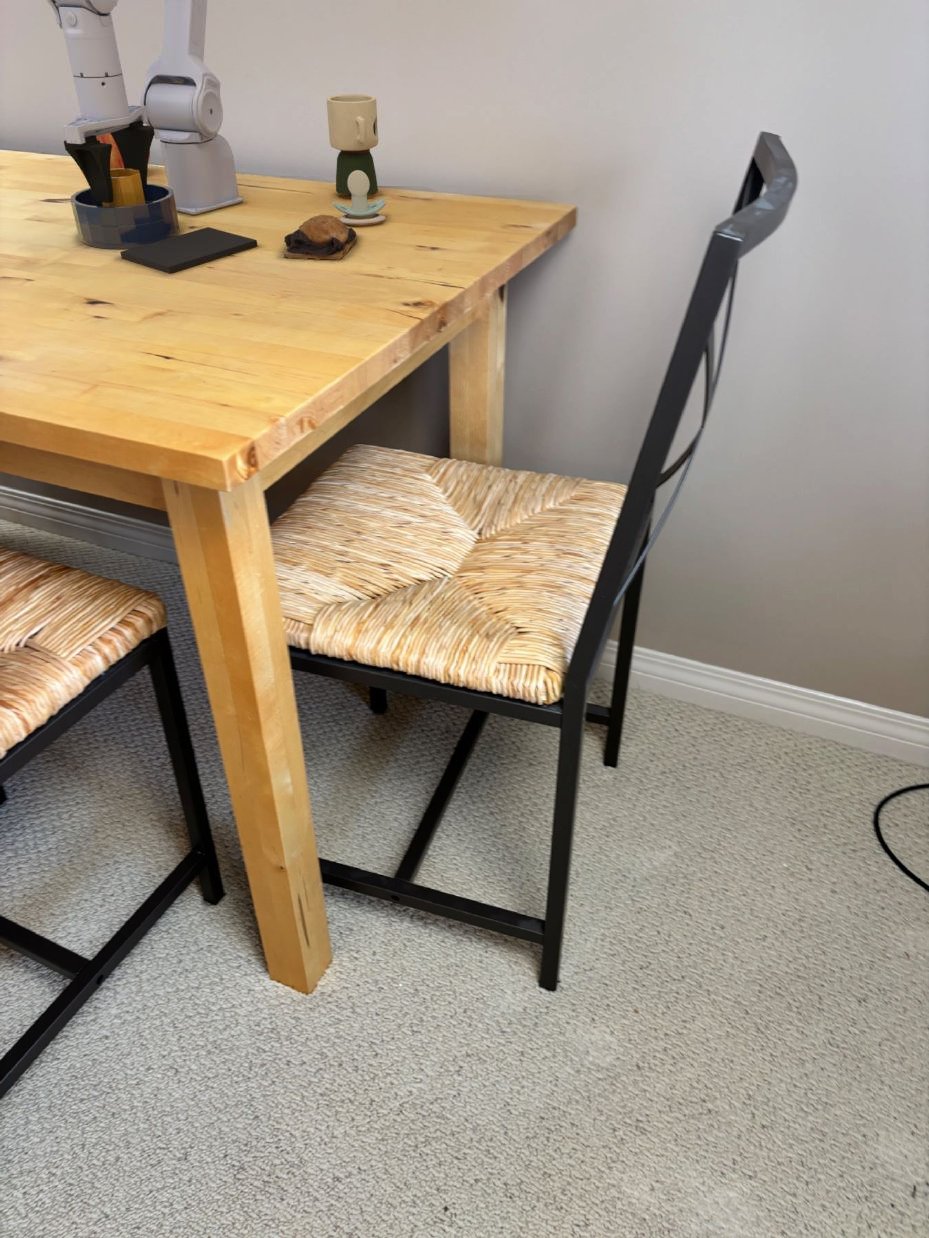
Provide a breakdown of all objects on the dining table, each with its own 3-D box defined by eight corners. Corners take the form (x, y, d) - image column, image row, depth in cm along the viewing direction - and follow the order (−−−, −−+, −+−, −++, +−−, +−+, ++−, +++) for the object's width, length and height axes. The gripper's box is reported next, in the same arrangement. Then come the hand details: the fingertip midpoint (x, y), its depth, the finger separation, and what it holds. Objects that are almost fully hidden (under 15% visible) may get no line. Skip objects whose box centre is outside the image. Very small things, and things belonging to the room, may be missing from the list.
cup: (133, 222, 127) (122, 166, 123) (159, 229, 125) (148, 172, 120) (100, 231, 124) (87, 173, 120) (125, 238, 121) (113, 180, 117)
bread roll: (301, 234, 126) (298, 205, 123) (362, 237, 125) (360, 207, 122) (277, 258, 117) (273, 227, 115) (343, 261, 116) (340, 230, 114)
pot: (140, 216, 132) (132, 178, 129) (200, 232, 126) (193, 193, 123) (60, 237, 124) (50, 196, 121) (119, 255, 118) (110, 213, 114)
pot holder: (209, 233, 125) (208, 227, 125) (257, 246, 121) (256, 240, 120) (121, 258, 117) (119, 251, 116) (170, 273, 112) (169, 266, 112)
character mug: (390, 202, 139) (386, 103, 131) (344, 206, 136) (337, 106, 128) (369, 185, 146) (364, 90, 139) (325, 189, 144) (317, 93, 136)
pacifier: (390, 226, 129) (383, 213, 133) (389, 178, 125) (382, 166, 129) (337, 229, 128) (332, 216, 132) (334, 180, 124) (329, 168, 128)
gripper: (104, 65, 120) (127, 179, 128) (30, 81, 109) (60, 205, 117) (153, 67, 118) (172, 183, 126) (82, 85, 107) (109, 210, 115)
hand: (122, 194), depth 122 cm, fingers open, 7 cm apart
